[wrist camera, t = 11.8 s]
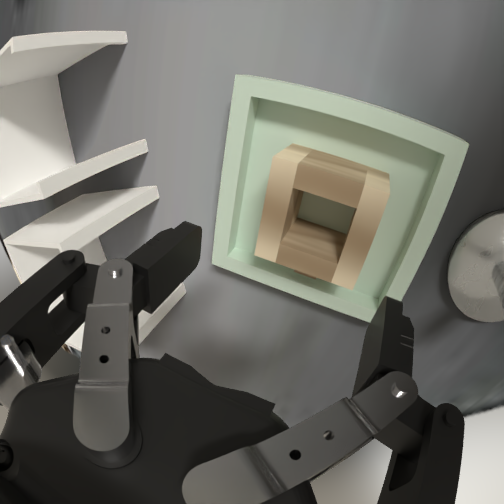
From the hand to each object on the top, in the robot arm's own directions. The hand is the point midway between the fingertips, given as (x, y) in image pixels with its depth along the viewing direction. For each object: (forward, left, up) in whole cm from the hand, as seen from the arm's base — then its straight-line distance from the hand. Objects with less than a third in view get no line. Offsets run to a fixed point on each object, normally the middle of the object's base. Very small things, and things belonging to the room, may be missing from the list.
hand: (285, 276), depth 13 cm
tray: (0, 0, -10) cm, 10 cm away
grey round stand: (0, +14, -10) cm, 17 cm away
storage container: (+4, -20, -11) cm, 23 cm away
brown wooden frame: (0, 0, -10) cm, 10 cm away
